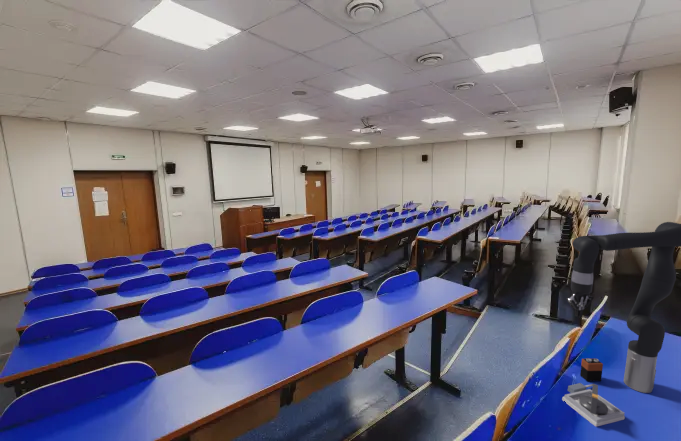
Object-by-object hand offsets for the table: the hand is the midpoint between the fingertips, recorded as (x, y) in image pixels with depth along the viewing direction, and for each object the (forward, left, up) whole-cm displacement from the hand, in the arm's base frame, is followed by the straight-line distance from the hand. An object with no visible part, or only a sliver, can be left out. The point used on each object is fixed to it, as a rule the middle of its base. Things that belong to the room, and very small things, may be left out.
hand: (578, 316), depth 137 cm
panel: (+10, +17, -31) cm, 37 cm away
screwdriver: (+3, +8, -31) cm, 32 cm away
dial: (+12, +19, -29) cm, 37 cm away
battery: (-7, +3, -31) cm, 32 cm away
